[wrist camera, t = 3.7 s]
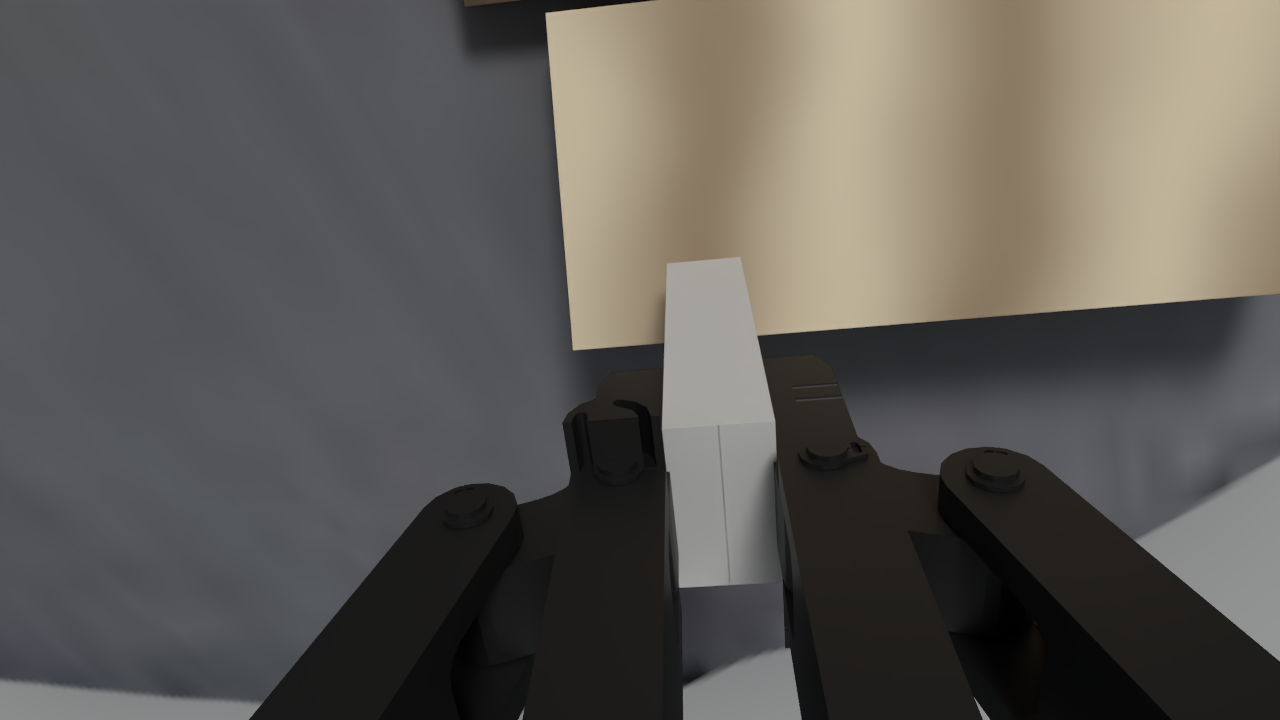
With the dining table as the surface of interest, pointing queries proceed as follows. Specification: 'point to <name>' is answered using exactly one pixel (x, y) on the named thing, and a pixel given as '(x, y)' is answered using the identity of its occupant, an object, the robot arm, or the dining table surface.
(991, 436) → the dining table surface
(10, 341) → the dining table surface
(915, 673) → the robot arm
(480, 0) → the floorboard
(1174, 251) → the plank
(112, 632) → the dining table surface
